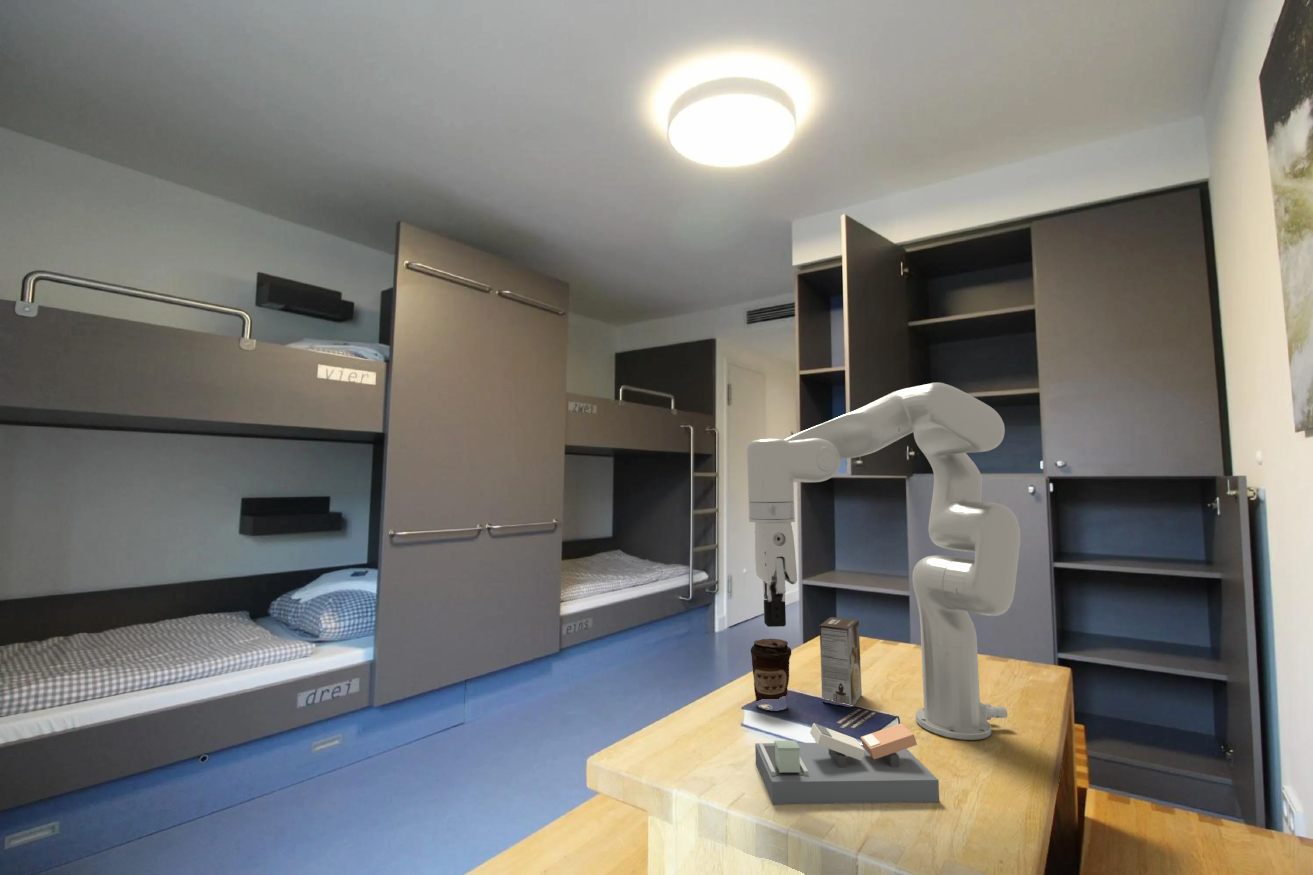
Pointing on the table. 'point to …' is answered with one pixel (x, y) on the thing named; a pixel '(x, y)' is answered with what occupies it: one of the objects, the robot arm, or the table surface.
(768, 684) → the coffee cup
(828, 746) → the rocker cream
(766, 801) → the table surface
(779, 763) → the green slider block
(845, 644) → the coffee box
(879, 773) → the panel
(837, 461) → the robot arm
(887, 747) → the rocker terracotta
